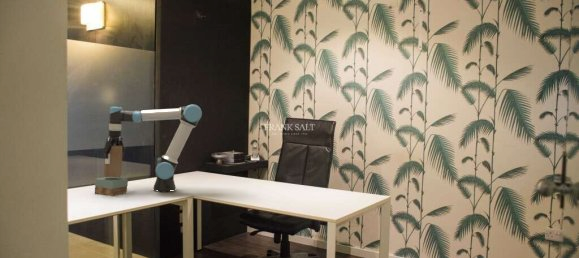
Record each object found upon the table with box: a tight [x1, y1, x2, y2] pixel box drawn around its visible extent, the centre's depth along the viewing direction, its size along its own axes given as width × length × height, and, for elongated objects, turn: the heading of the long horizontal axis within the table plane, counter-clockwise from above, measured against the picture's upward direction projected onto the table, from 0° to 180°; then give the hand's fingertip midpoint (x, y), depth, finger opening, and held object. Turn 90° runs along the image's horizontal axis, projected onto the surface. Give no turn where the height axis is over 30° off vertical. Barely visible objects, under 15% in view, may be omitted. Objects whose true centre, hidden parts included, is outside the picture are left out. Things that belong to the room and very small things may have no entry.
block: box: [103, 145, 123, 178], centre depth 282 cm, size 10×10×20 cm
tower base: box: [94, 186, 128, 197], centre depth 282 cm, size 14×14×5 cm
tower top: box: [94, 176, 129, 189], centre depth 282 cm, size 14×14×5 cm
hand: (113, 162), depth 282 cm, fingers closed on block, 13 cm apart
